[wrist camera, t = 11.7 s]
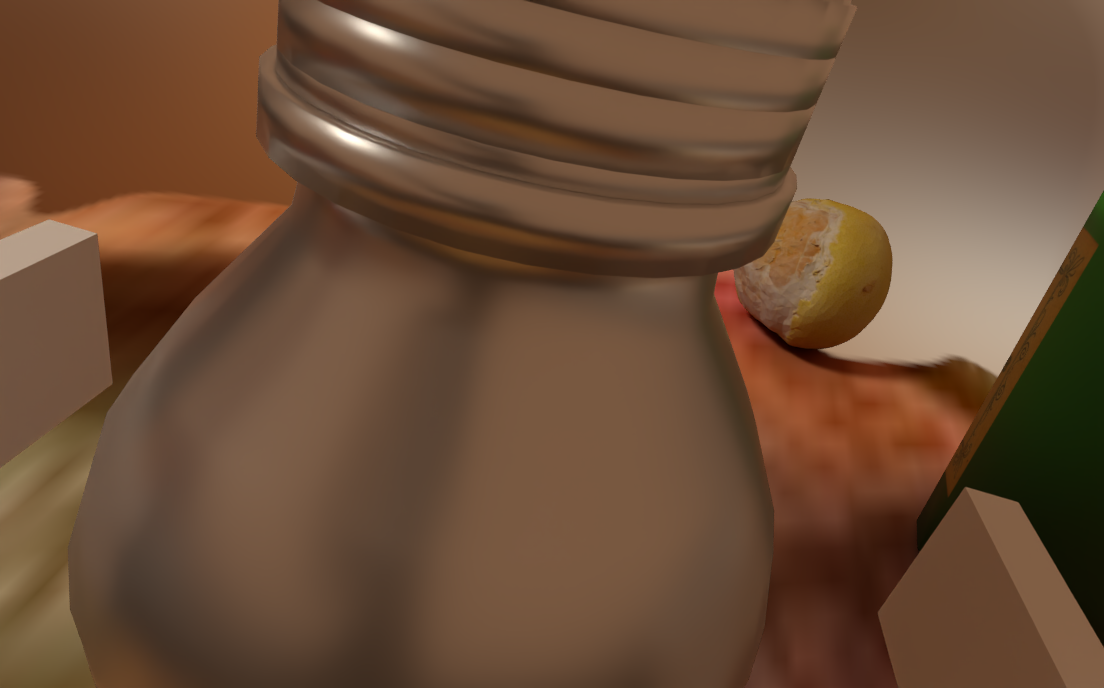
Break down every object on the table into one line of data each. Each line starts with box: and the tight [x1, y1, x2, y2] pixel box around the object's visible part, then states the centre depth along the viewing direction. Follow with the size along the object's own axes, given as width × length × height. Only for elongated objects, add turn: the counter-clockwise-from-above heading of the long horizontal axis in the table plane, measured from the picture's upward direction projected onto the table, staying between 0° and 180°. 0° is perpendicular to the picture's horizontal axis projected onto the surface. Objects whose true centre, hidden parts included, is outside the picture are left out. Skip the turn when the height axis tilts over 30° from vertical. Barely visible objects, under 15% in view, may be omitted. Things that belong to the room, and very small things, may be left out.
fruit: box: [734, 199, 892, 349], centre depth 49 cm, size 10×11×10 cm
